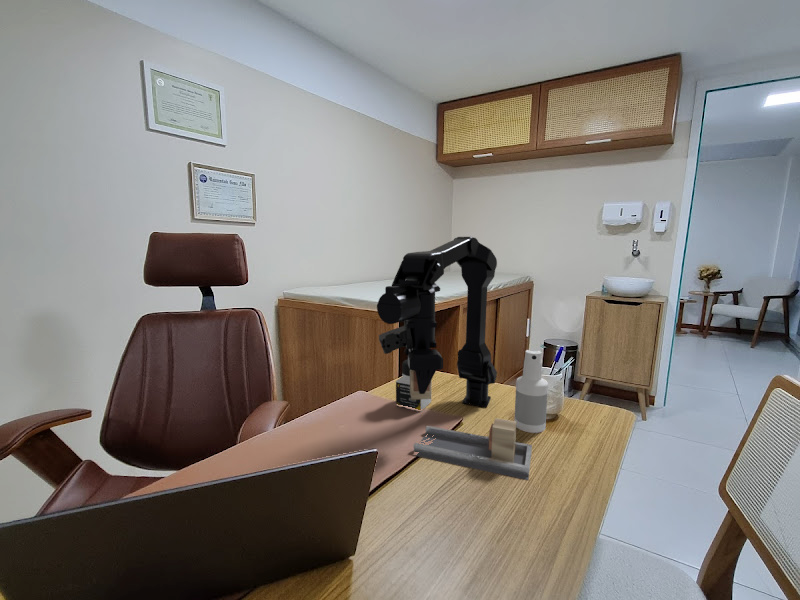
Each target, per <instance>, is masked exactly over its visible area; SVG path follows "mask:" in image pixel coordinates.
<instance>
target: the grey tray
mask: <svg viewBox="0 0 800 600" xmlns="http://www.w3.org/2000/svg"><path fill="white" fill-rule="evenodd" d="M425 434H430V435H435V436H440V437H445V438H451V439H456V440H461V441H466V442H471V443H477V444H482V445H487V446H489V436H485V435H479V434H474V433H468V432H464V431H457V430H453V429H446V428H441V427H438V426H437V427H436V426H431V425H426V426H425ZM419 443H420V442H419ZM419 443H418V442H414V444H413V452H414V451H415V452H419V453H422V454H427V455H432V456H436V457H441V458H446V459H450V460H455V461H460V462H464V463H469V464H474V465H478V466H483V467H488V468H493V469H497V470H502V471H507V472H511V473H516V474H521V475H525V476H529V477H530V468H531V459H532V450H533V449H532V447H533V445H532V444H528V443H524V442H523V443H522V442H518V441H515V451H518V452H523V453H526V460H525V465H521V464H517V463H512V462H507V461H502V460H497V459H492V458H487V457H482V456H477V455H472V454H468V453H463V452H458V451H453V450H448V449H443V448H438V447H433V446H428V445H423V444H419Z"/></svg>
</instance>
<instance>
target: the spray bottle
mask: <svg viewBox="0 0 800 600" xmlns="http://www.w3.org/2000/svg"><path fill="white" fill-rule="evenodd" d="M542 353H543V352H542V351H541V350H530V349H526V350H525V356H524V359H523V369H522V375H521V376H519V377H517V378H516V381H515V400H514V401H515V403H514V420H513V421H516V429H518V430H520V431H523V432H526V433H531V434H533V433H534V434H538V433H541V432H544V431H545V430H546V424H547V421H546V420H547V407H548V391H549V382H548V381H547V380H546V379H545V378H543V360H542V355H543V354H542Z"/></svg>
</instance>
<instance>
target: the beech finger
mask: <svg viewBox="0 0 800 600" xmlns="http://www.w3.org/2000/svg"><path fill="white" fill-rule="evenodd" d="M410 395H411V399H412V400H415V399H431V400H432V386H431V382H430V384H429V386H428V388H427V390H426V392H425V394H420V393H419V389H418V384H417V379H416V373H415V371H414V370H410Z"/></svg>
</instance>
